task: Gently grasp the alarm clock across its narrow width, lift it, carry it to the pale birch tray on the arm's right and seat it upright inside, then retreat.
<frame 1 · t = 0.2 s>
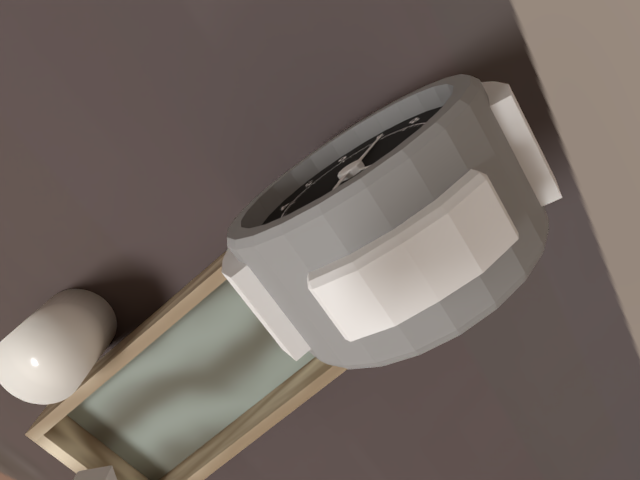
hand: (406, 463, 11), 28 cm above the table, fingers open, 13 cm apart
tray: (199, 370, 42), on the table
white rounded cylinder: (80, 321, 40), on the table
alarm clock: (354, 181, 38), on the table
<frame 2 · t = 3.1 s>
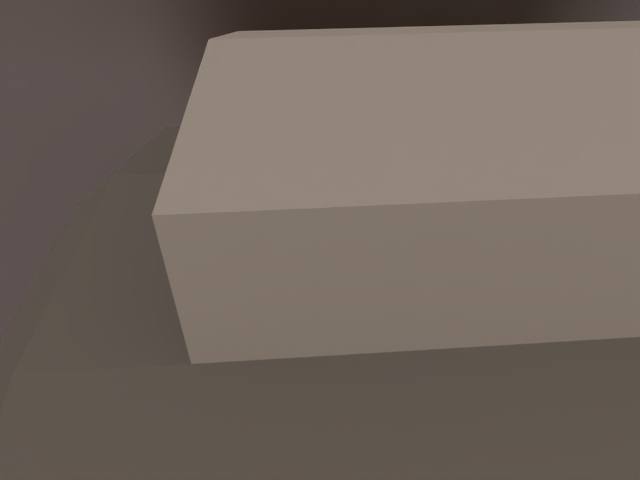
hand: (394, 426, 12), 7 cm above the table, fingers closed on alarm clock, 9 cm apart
alarm clock: (355, 300, 19), on the table, touching gripper
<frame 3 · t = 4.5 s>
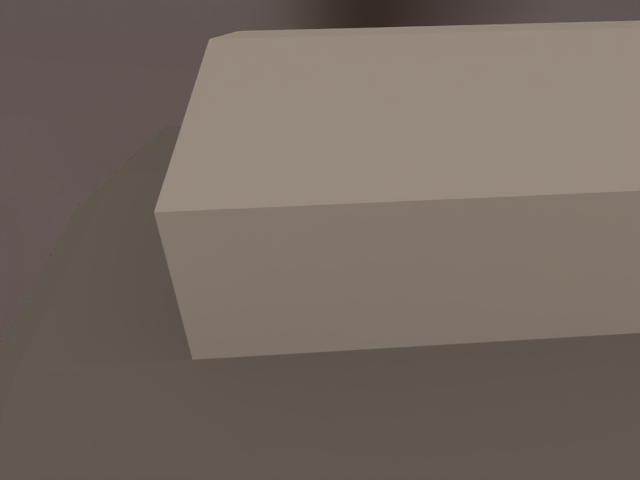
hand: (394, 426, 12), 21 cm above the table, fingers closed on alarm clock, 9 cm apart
alarm clock: (354, 300, 19), point 13 cm above the table, touching gripper
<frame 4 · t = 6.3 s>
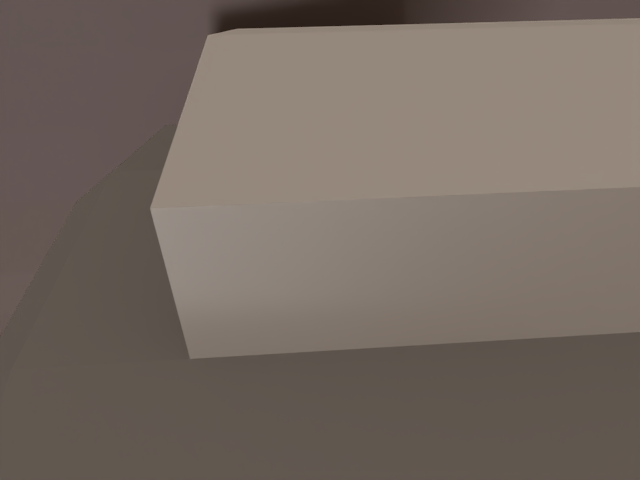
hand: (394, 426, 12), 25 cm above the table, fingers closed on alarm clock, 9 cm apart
alarm clock: (355, 300, 19), point 18 cm above the table, touching gripper
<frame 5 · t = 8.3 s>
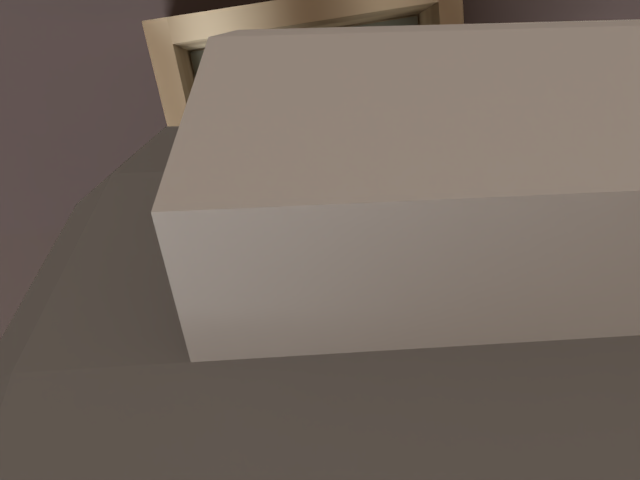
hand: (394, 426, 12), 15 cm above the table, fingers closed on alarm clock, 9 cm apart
tray: (335, 245, 26), on the table
alarm clock: (355, 300, 19), point 7 cm above the table, touching gripper
when the fingers open (10 cm above the table, at t = 9.8 s): alarm clock drops 1 cm, resting on tray.
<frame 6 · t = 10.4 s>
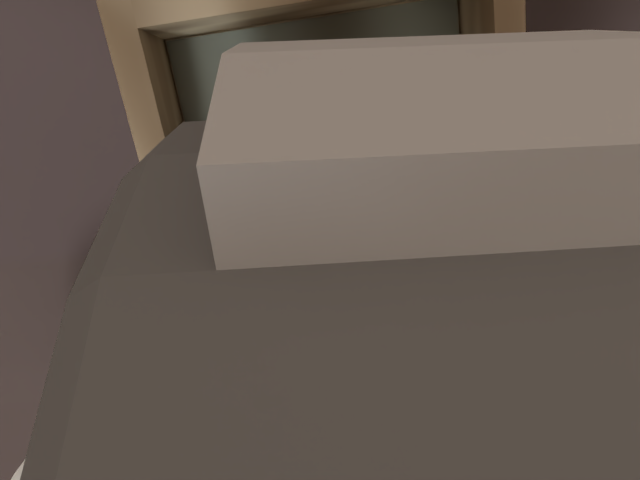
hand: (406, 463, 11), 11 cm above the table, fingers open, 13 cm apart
tray: (348, 280, 22), on the table
alarm clock: (349, 286, 21), point 1 cm above the table, touching tray
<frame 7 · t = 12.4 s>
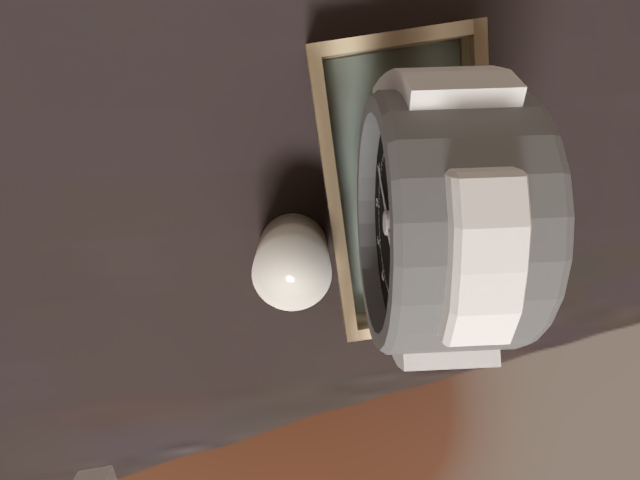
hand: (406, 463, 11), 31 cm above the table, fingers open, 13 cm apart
tray: (400, 185, 41), on the table
white rounded cylinder: (293, 246, 42), on the table
alarm clock: (401, 187, 40), point 1 cm above the table, touching tray
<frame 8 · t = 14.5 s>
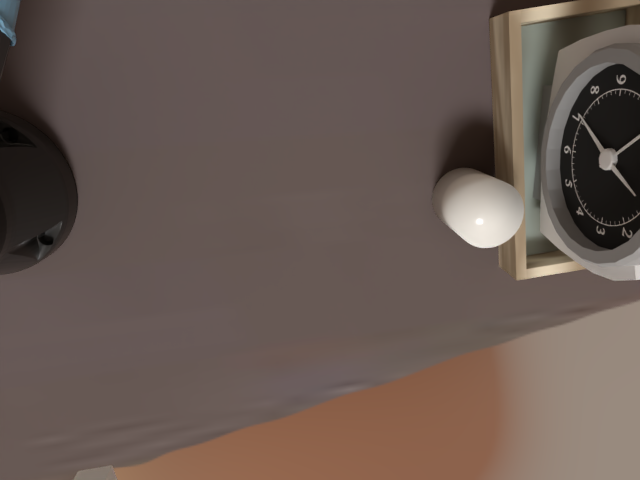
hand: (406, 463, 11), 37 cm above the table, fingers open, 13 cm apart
tray: (559, 141, 46), on the table
white rounded cylinder: (461, 197, 47), on the table
alarm clock: (564, 141, 45), point 1 cm above the table, touching tray
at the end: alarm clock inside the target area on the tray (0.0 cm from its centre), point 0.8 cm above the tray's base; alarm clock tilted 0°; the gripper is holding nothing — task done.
